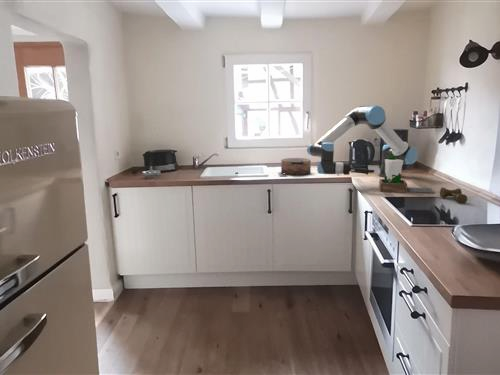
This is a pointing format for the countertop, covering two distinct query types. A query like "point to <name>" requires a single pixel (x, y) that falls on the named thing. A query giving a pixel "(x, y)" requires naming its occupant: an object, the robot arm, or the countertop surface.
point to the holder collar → (393, 186)
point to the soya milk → (393, 170)
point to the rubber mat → (420, 190)
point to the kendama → (454, 195)
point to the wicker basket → (296, 166)
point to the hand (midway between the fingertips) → (379, 169)
